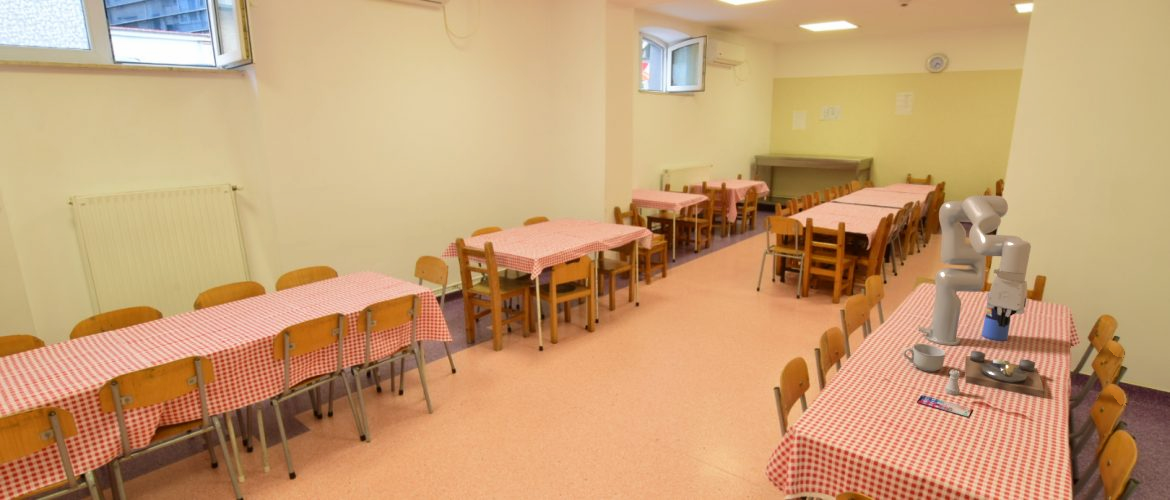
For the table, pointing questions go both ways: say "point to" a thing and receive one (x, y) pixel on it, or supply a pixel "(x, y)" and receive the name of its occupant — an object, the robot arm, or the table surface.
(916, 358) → the teacup
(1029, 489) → the table surface
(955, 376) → the rook chess piece
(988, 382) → the levelling base
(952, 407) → the smartphone
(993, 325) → the water bottle
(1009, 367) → the silver metal dome
